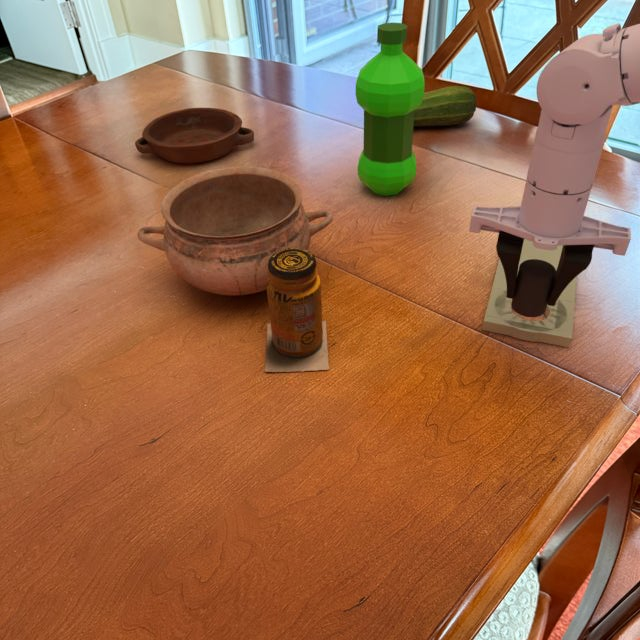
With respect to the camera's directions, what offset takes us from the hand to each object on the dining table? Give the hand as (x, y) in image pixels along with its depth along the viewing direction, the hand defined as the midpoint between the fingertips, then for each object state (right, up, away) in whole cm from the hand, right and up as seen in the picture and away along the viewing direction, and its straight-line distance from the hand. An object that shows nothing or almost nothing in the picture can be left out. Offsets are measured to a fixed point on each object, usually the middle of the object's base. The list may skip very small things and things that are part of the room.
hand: (530, 296), depth 64 cm
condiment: (-25, -6, +8) cm, 27 cm away
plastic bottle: (-11, +19, +36) cm, 43 cm away
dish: (-46, +30, +50) cm, 74 cm away
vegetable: (-2, +36, +55) cm, 66 cm away
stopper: (0, -1, +1) cm, 1 cm away
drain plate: (+5, +1, +14) cm, 15 cm away
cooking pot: (-33, +3, +19) cm, 38 cm away
